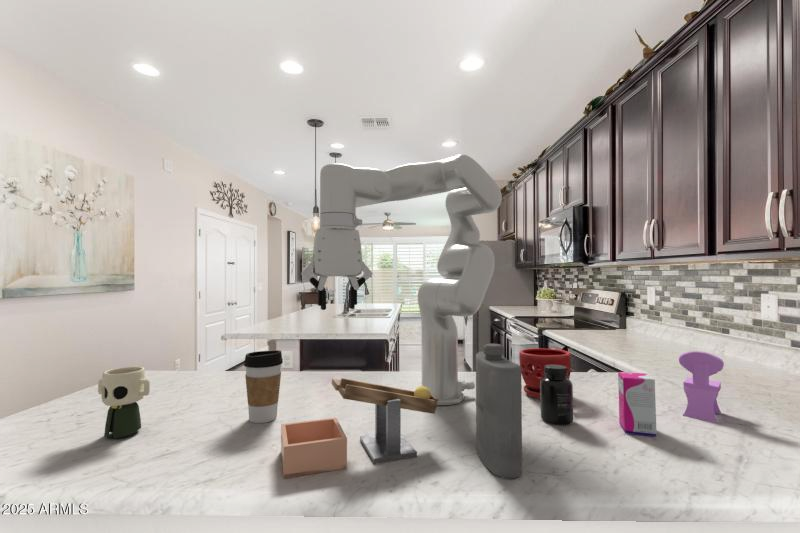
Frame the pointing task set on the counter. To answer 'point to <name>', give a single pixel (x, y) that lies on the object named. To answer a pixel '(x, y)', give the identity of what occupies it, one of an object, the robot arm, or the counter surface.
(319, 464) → the pink open box
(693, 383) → the toy chair
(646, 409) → the supplement box
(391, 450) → the pivot stand
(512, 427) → the flask
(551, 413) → the supplement bottle
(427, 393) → the ball
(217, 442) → the counter surface
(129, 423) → the character mug
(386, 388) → the lever
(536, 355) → the plant pot
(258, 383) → the coffee cup
